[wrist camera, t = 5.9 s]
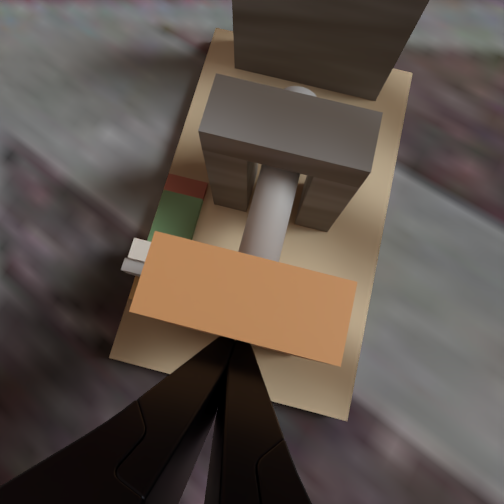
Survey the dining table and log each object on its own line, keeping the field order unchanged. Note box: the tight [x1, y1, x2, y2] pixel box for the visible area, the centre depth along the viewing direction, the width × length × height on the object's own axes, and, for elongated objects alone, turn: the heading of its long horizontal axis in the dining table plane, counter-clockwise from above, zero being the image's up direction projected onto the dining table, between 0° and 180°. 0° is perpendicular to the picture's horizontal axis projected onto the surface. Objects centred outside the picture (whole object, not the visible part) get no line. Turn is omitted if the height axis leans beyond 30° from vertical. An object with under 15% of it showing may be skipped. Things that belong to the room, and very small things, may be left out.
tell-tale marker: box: [128, 238, 151, 262], centre depth 16 cm, size 1×2×1 cm, turn 76°
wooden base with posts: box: [109, 0, 429, 421], centre depth 15 cm, size 16×10×9 cm, turn 166°
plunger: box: [121, 86, 357, 367], centre depth 14 cm, size 9×8×8 cm
